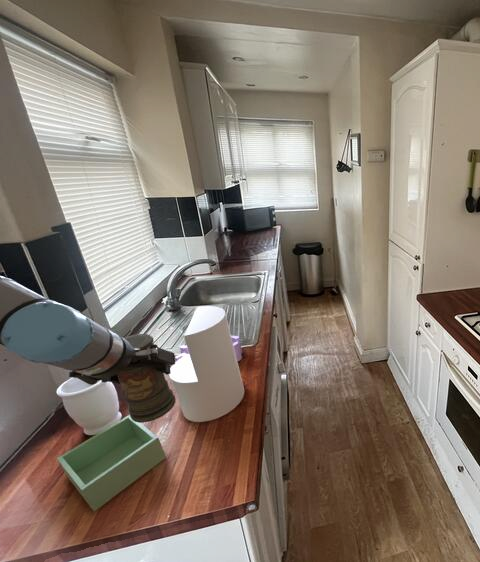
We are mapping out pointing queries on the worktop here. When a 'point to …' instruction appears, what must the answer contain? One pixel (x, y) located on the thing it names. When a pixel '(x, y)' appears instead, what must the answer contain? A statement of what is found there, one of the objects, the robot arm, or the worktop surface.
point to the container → (145, 387)
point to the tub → (111, 460)
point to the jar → (90, 404)
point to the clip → (235, 343)
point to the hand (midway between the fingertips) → (147, 373)
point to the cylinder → (207, 368)
